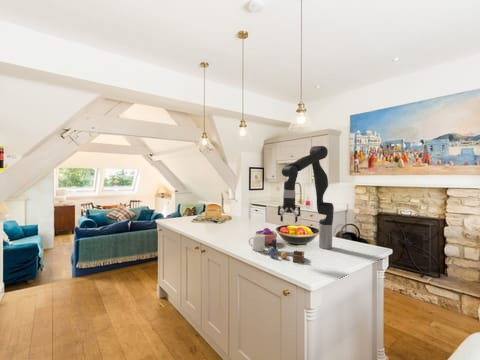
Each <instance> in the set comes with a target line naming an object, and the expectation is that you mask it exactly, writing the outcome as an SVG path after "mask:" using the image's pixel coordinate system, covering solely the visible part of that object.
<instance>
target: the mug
mask: <svg viewBox="0 0 480 360" xmlns="http://www.w3.org/2000/svg"><path fill="white" fill-rule="evenodd" d="M248 238H249V239H248V244H249V246H250V247H252V251H254V252H263V251H265V249H266V248H265V247H266V246H265V245H266V244H265V235H262V234H256V233H255V234H253V235H252V236H250V237H248ZM251 240H252V241H251Z"/></svg>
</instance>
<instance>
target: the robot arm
mask: <svg viewBox="0 0 480 360" xmlns="http://www.w3.org/2000/svg"><path fill="white" fill-rule="evenodd" d="M328 150H329V149H328V148H327V146H324V145H314V146H311V147H310V149H309V154H307V155H305V156H302V157H301V158H298V159H297V160H296V161H294V162H292V163H288V164H286V165H284V166H283V167H282V169H281V174H282V175H283V177H285V178H288V179H287V180H285V181H284V182H283V195H282V196H283V197H282V203H283V204H282V205H278V206H277V216H280V222H281V223H283V222H284V214H285V213H286V214H294V218H295V219H294V223H295V224H296V223H298V217H301V206H296V181H297V177H298V174H299V172H300V171H303V170H305V169H306V168H307V167H309V166H310V165H311V166H312V173H313V179H314V186H315V187H314V188H315V194H316V195H315V196H316V211H317V214H318V215H324V216H325V218H321V219H319V221H318V223H319V224H318V225H319V226H318V227H319V228H318V247H319V248H320V249H323V250H330V249H333V222H334V211H335V210H334V208H335V207H334V204H333V203H332V202H325V201H324V196H325V193H326V192H327V189H328V187H329V180H328V179H329V178H328V175H327V173H326V172H325V170H324V168H323V167H322V165H321V162H320V161H322V160H323V159H324V160H325V159H326V158H327V156H328V153H329V151H328ZM282 209H283V211H282V212H281V210H282ZM295 210H297V212H298V213H297V212H296V211H295Z"/></svg>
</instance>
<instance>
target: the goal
mask: <svg viewBox="0 0 480 360" xmlns="http://www.w3.org/2000/svg"><path fill="white" fill-rule="evenodd" d="M293 252H294V255H293V256H292V263H298V264H305V251H301V250H297V251H296V250H293Z"/></svg>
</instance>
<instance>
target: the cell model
mask: <svg viewBox="0 0 480 360" xmlns="http://www.w3.org/2000/svg"><path fill="white" fill-rule="evenodd" d="M255 234H262V235H265V245H272V239H277V237H278V233H277V232H276V231H274V230H271V229H270V228H269V227H265V228H263V230H257V231H255Z"/></svg>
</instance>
